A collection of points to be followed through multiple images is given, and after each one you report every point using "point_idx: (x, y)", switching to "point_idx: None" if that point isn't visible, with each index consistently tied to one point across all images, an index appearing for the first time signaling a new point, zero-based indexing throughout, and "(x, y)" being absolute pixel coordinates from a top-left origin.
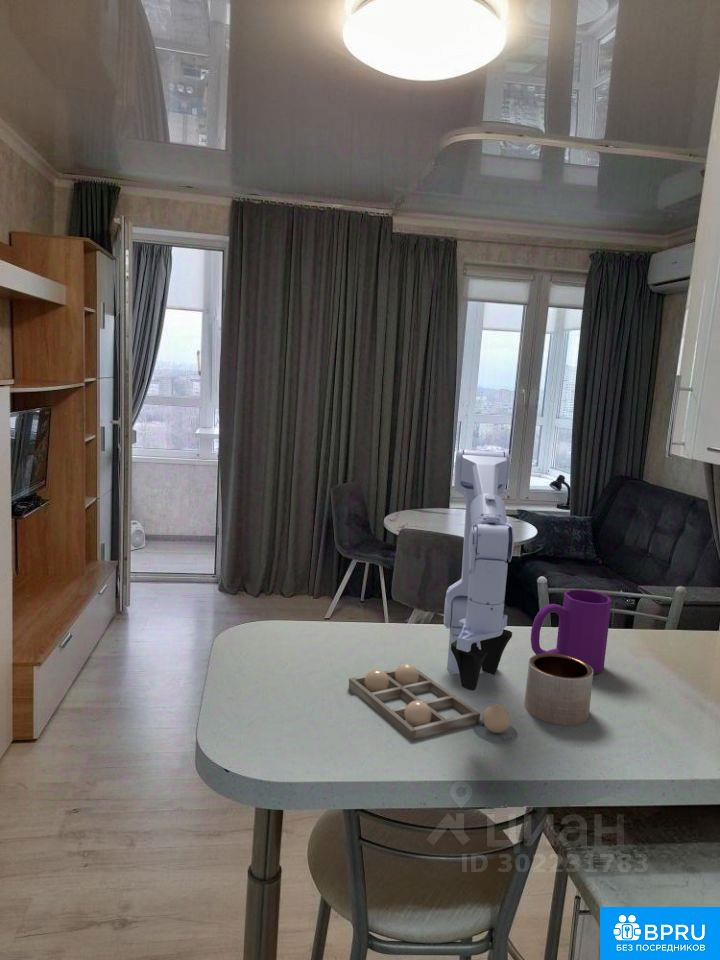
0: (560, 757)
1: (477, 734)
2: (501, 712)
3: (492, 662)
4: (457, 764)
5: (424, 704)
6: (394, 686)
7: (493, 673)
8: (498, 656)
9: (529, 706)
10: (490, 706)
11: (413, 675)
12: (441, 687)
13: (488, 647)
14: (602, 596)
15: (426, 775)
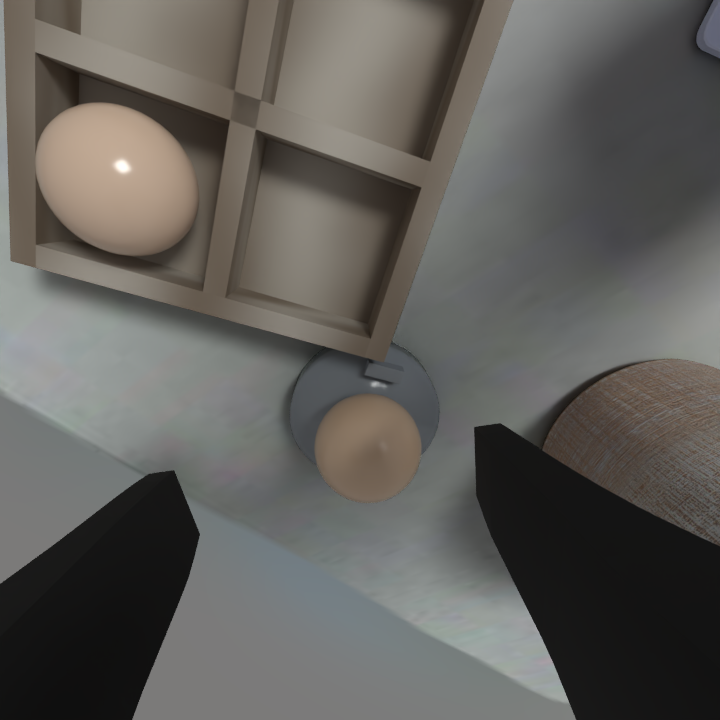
0: (419, 543)
1: (298, 392)
2: (351, 499)
3: (513, 547)
4: (154, 406)
5: (110, 216)
6: None
7: (480, 498)
8: (549, 643)
9: (585, 433)
10: (357, 453)
11: None
12: (483, 57)
13: (597, 636)
14: None
15: (24, 382)
